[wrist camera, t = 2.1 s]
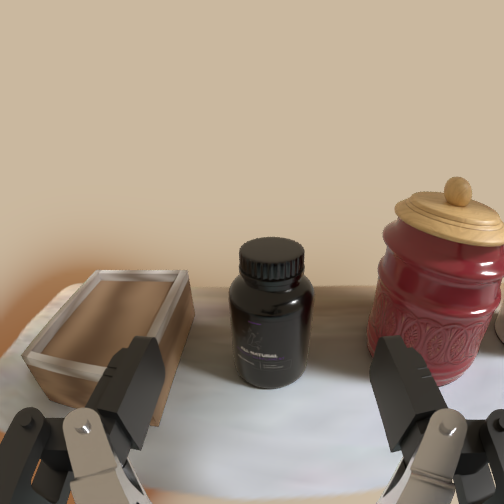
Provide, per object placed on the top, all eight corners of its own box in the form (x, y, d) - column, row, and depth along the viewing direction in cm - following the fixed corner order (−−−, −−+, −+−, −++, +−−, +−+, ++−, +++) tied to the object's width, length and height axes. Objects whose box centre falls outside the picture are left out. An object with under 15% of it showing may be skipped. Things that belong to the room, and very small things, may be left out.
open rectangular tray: (195, 314, 35) (187, 270, 32) (158, 426, 20) (135, 380, 18) (108, 310, 35) (96, 270, 33) (49, 400, 21) (21, 355, 18)
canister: (343, 363, 26) (368, 172, 19) (385, 300, 35) (403, 159, 28) (463, 406, 18) (543, 213, 11) (475, 328, 27) (513, 183, 20)
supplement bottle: (243, 398, 23) (231, 276, 18) (229, 348, 29) (217, 237, 24) (318, 380, 24) (333, 260, 19) (293, 335, 30) (296, 227, 25)
